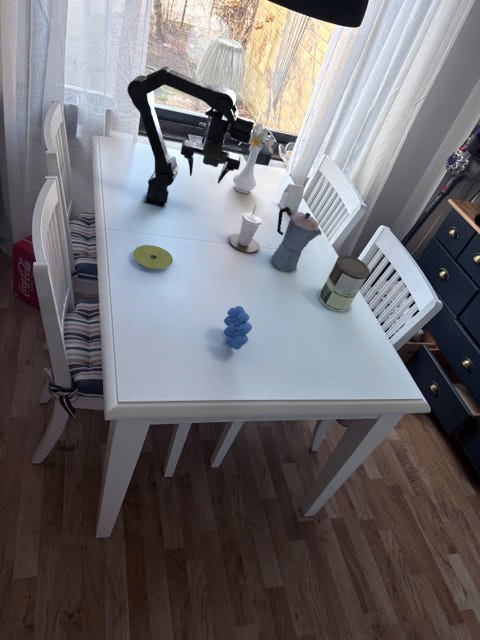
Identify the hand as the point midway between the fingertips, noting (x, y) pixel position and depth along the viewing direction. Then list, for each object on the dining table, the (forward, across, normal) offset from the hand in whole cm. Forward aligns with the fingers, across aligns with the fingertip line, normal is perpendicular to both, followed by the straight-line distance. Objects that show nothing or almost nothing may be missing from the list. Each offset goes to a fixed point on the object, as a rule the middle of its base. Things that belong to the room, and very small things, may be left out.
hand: (204, 179), depth 156 cm
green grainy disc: (+13, -11, -33) cm, 37 cm away
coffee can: (+13, +46, -32) cm, 58 cm away
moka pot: (+13, +30, -18) cm, 37 cm away
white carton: (+13, +36, +22) cm, 44 cm away
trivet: (+13, +17, -12) cm, 25 cm away
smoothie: (+13, +17, -12) cm, 24 cm away
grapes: (+13, +13, -60) cm, 63 cm away
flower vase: (+13, +17, +28) cm, 35 cm away
